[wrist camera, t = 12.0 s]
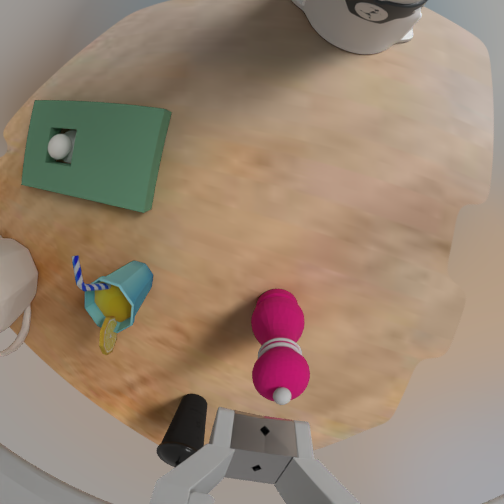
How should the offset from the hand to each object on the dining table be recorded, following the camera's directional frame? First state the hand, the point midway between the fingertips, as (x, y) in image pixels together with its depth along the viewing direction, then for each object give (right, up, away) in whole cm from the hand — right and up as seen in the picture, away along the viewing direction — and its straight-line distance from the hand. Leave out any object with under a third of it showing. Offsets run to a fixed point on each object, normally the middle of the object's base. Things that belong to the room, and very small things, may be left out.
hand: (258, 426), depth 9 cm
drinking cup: (-11, -23, +43) cm, 50 cm away
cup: (-18, +3, +36) cm, 40 cm away
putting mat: (-24, +21, +30) cm, 44 cm away
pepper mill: (+4, -2, +36) cm, 37 cm away
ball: (-29, +22, +28) cm, 46 cm away
